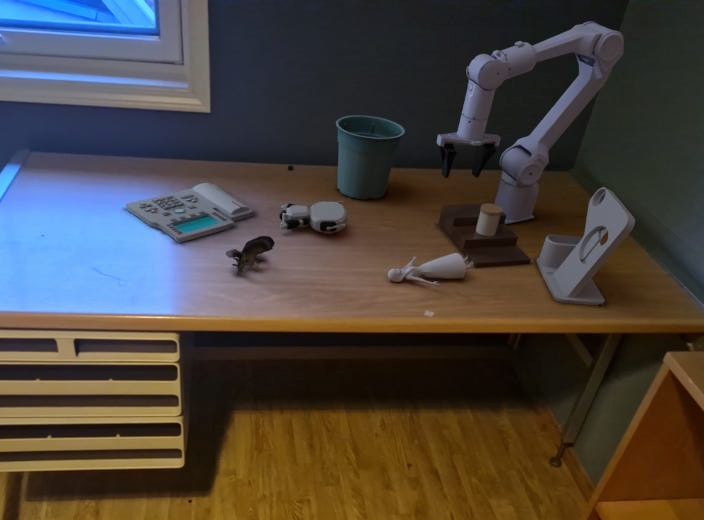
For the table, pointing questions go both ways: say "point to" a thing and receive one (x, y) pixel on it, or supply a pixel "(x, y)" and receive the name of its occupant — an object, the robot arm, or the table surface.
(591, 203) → the phone holder
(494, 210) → the jar
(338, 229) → the robot toy
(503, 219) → the step shelf
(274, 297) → the table surface
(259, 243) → the brown animal figurine
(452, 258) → the woman figurine
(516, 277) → the table surface
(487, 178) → the table surface
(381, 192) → the flower pot
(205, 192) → the office telephone
